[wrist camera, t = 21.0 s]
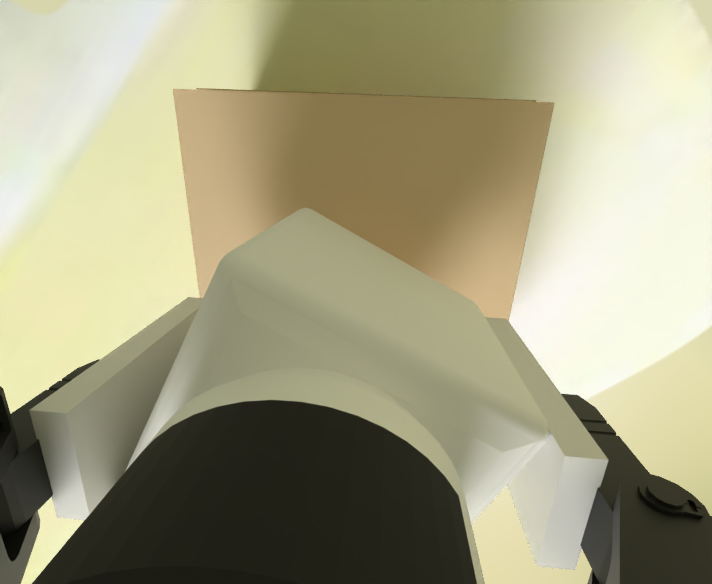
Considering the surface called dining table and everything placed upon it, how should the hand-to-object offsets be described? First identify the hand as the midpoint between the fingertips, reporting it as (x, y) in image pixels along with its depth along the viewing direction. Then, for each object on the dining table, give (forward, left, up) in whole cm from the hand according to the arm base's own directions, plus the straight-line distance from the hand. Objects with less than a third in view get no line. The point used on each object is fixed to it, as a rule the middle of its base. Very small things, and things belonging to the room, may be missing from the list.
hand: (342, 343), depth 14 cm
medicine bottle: (0, 0, -1) cm, 1 cm away
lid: (0, 0, -5) cm, 5 cm away
